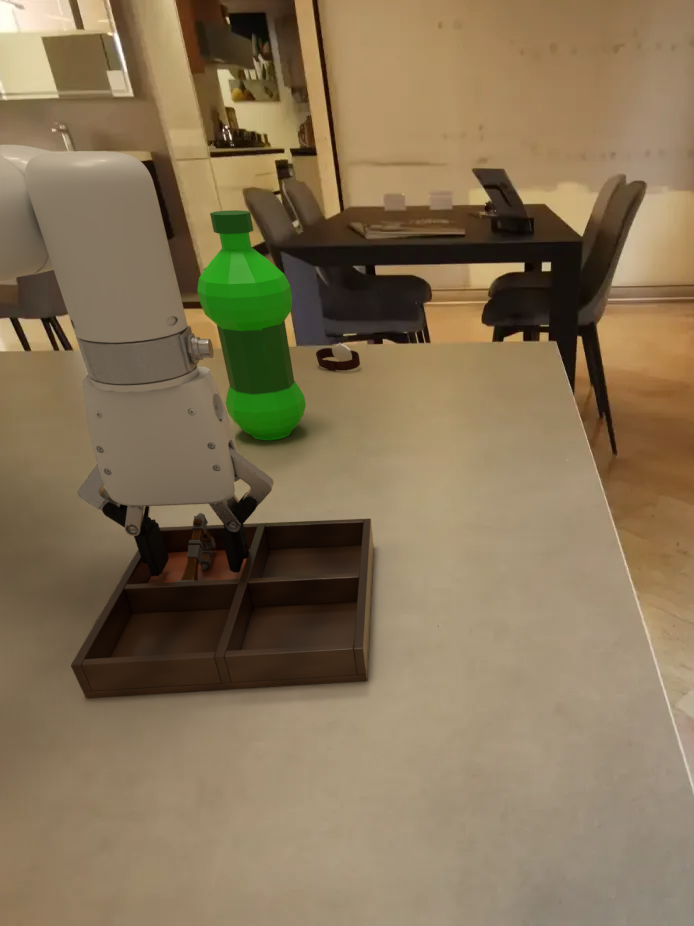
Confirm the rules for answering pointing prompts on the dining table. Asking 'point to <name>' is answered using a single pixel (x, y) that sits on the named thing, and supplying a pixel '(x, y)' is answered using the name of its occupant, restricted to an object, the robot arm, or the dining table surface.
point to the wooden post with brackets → (198, 549)
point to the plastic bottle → (251, 330)
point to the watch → (340, 352)
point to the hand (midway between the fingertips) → (199, 564)
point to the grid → (238, 614)
